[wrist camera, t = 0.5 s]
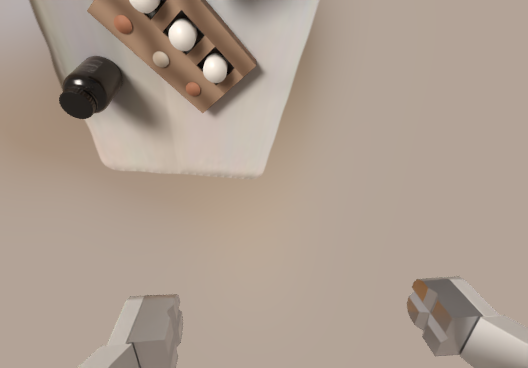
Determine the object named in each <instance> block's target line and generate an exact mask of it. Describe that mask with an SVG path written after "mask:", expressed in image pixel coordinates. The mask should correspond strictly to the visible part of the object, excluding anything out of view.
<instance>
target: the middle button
mask: <svg viewBox="0 0 528 368" xmlns="http://www.w3.org/2000/svg"><path fill="white" fill-rule="evenodd" d="M196 38H197V29H196V27H195V25H194V24H193V23H192V22H191V21H190V20H188V19H185V18H180V19H178V20H176V21H175V22H174V24H173V25H172V26H171V28H170V30H169V40H170V42H171V44H172V45H173V46H174V47H175V48H176V49H178V50H180V51H188V50H190V49H191V48H192V47H193V46H194V43H195V41H196Z"/></svg>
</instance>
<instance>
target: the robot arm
mask: <svg viewBox="0 0 528 368" xmlns="http://www.w3.org/2000/svg"><path fill="white" fill-rule="evenodd" d="M412 288H413V290H414V292H413V293H412V294H411V295H410V296H409V298H408V301H407V309H408V313H409V316H410V318H411V319H412V321H413V323H414V325H416V326H417V327H419V328H420V329H422V330H423V336H422V337H423V339H424V340H425V342H426V343H427V345H428V346H429V348H430V349H431V351H432V352H433V354H434V355H435V356H446V355H460V357H461V358H463V359H464V360H465V361H466V362H468V363H469V364H470V365H471V366H473V367H474V368H528V328H527V327H525V326H524V325H522V324H520V323H518V322H516V321H514V320H512V319H510V318H509V317H507V316H505V315H499V314H498V313H497V312H496V311H495V310H494V309H493V308H492V307H491V306H490V305H489V304H488V303H487V302H486V301H485V300H484V299H483V298H482V297H481V296H480V295H479V294H478V293H477V292H476V291H475V290H474V289H473V288H472V287H471V286H470V285H469V284H468V283H467V282H466V281H465V280H464V279H463V278H461V277H459V276H457V277H444V278H443V277H440V278H426V279H417V280H416V281H415V282H414V283H413V286H412ZM179 304H180V299H179V295H177V294H174V295H147V296H130V297H129V298H128V299H127V300H126V302H125V305H124V307H123V309H122V311H121V313H120V316H119V318H118V320H117V323H116V325H115V327H114V330H113V332H112V334H111V336H110V339H109V341H108V343H107V345H103V346H100V347H99V348H98V349H97V350H96V351H95V352H94V353H93V354H92V355H90V356H89V357H88V358H87V359H86V360H85V361H84V362H83V363H82V364H80V365H79V366H78V367H77V368H176V364H177V359H178V354H177V349H176V347H177V346H178V345H179V344H180V343H181V337H182V329H183V317H182V312H181V311H180V310H179Z"/></svg>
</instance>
